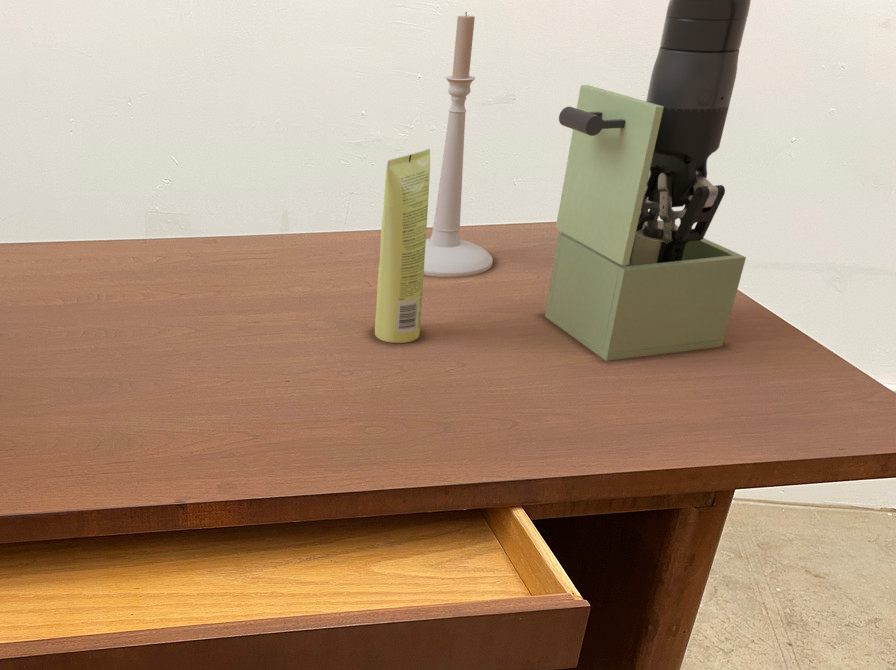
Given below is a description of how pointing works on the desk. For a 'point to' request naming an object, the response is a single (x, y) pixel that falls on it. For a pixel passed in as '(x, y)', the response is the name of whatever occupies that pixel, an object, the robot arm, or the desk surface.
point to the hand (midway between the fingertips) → (651, 268)
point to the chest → (643, 299)
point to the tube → (403, 248)
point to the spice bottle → (648, 243)
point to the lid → (607, 169)
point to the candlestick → (455, 176)
